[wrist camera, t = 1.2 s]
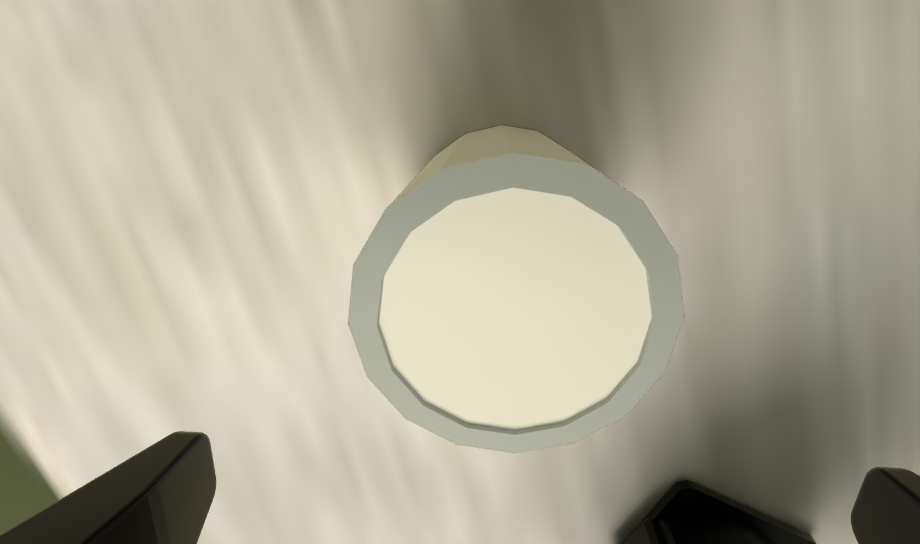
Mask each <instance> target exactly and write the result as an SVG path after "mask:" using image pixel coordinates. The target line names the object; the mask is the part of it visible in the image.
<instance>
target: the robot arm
mask: <svg viewBox="0 0 920 544" xmlns="http://www.w3.org/2000/svg"><path fill="white" fill-rule="evenodd" d="M215 490H216V475H215V469H214V463H213V457H212V451H211V445H210V441H209V438H208V436H207V435H206V434H204V433H202V432H184V431H179V432H174V433H172V434H170V435H168V436H167V437H165V438H163V439H162V440H160V441H158V442H157V443H155V444H153V445H152V446H150V447H148V448H146V449H145V450H143V451H141V452H140V453H138V454H136V455H135V456H133V457H131V458H130V459H128V460H126V461H125V462H123V463H121V464H119V465H118V466H116V467H114V468H113V469H111V470H109V471H108V472H106V473H104V474H103V475H101V476H99V477H97V478H96V479H94V480H92V481H91V482H89V483H87V484H86V485H84V486H82V487H81V488H79V489H77V490H76V491H74V492H72V493H70V494H69V495H67V496H65V497H64V498H62V499H60V500H59V501H57V502H55V503H54V504H52V505H50V506H48V507H47V508H45V509H43V510H42V511H40V512H38V513H37V514H35V515H33V516H32V517H30V518H29V519H27V520H25V521H23V522H22V523H20V524H18V525H16V526H15V527H13V528H11V529H10V530H8V531H6V532H5V533H3V534H1V535H0V544H197V542H198V539H199V536H200V533H201V531H202V528H203V525H204V523H205V520H206V517H207V514H208V512H209V509H210V506H211V503H212V501H213V498H214V495H215ZM686 493H689V494H688V495H684V494H686ZM682 495H684V496H682ZM851 525H852V529H853V532H854V535H855V537H856V539H857V541H858V544H920V476H919V475H917V474H915V473H913V472H911V471H909V470H906V469H902V468H885V467H876V468H872V469H871V470H870V471H869V472H868V473H867V474H866V476H865V479H864V481H863V484H862V486H861V489H860V491H859V494H858V496H857V499H856V502H855V504H854V507H853V509H852V513H851ZM623 544H816V542H815V540H814V539H813V537H812V536H810V535H809V534H807V533H805V532H803V531H800V530H798V529H796V528H794V527H792V526H789V525H787V524H785V523H783V522H781V521H778V520H776V519H774V518H772V517H769V516H767V515H765V514H763V513H761V512H758V511H756V510H754V509H752V508H750V507H747V506H745V505H743V504H741V503H739V502H736V501H734V500H732V499H730V498H727V497H725V496H723V495H721V494H719V493H716V492H714V491H712V490H710V489H708V488H705V487H703V486H701V485H699V484H697V483H694V482H692V481H688V480H683V481H679V482H677V483H676V484H674V485H673V486H672V487H671V488H670V490H669V491H668V492H667V493H666V494H665V495H664V496H663V498H662V499H661V500H660V501H659V502H658V503H657V504H656V506H655V507H654V508H653V509H652V510H651V511H650V513H649V514H648V515H647V516H646V517H645V518H644V519H643V521H642V522H641V523H640V524H639V525H638V526H637V527H636V529H635V530H634V531H633V532H632V533H631V534H630V536H629V537H628V538H627V539H626V540H625V541H624V542H623Z"/></svg>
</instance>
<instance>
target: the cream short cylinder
mask: <svg viewBox="0 0 920 544" xmlns="http://www.w3.org/2000/svg"><path fill="white" fill-rule="evenodd" d="M683 318H684V308H683V299H682V289H681V280H680V271H679V261H678V255H677V254H676V252H675V250H674V249H673V247H672V246H671V244H670V242H669V241H668V239H667V238H666V236H665V235H664V233H663V231H662V230H661V228H660V227H659V225H658V224H657V222H656V220H655V219H654V217H653V216H652V214H651V212H650V211H649V209H648V208H647V206H646V205H645V203H644V201H642V200H641V199H639V198H638V197H636V196H635V195H633V194H632V193H630V192H629V191H627V190H626V189H624V188H623V187H621V186H620V185H619V184H617V183H616V182H614V181H613V180H611V179H610V178H608V177H607V176H605V175H604V174H602V173H601V172H599V171H598V170H596V169H595V168H593V167H592V166H590V165H589V164H587V163H586V162H584V161H583V160H581V159H580V158H579V157H577V156H576V155H574V154H573V153H571V152H570V151H568V150H567V149H565V148H563V147H562V146H560V145H559V144H557V143H556V142H554V141H552V140H551V139H549V138H548V137H546V136H545V135H543V134H542V133H540V132H538V131H534V130H528V129H522V128H516V127H510V126H503V125H499V126H495V127H491V128H487V129H483V130H479V131H475V132H470V133H466V134H464V135H462V136H461V137H460V138H458V139H457V140H456V141H454V142H453V143H452V144H450V145H449V146H448V147H446V148H445V149H443V150H442V151H441V152H439V153H438V154H437V155H435V156H434V157H433V158H432V160H431V161H430V162H429V163H428V164H427V165H426V166H425V167H424V168H423V169H422V170H421V171H420V173H419V174H418V175H417V176H416V177H415V178H414V179H413V180H412V181H411V182H410V183H409V184H408V186H407V187H406V188H405V189H404V190H403V191H402V192H401V193H400V194H399V195H398V196H397V197H396V199H395V200H394V201H393V202H392V203H391V204H390V205H389V206H388V207H387V208H386V209H385V211H384V212H383V214H382V216H381V218H380V219H379V221H378V223H377V225H376V226H375V228H374V230H373V231H372V233H371V235H370V237H369V238H368V240H367V242H366V244H365V245H364V247H363V249H362V251H361V252H360V254H359V256H358V257H357V259H356V261H355V263H354V264H353V272H352V283H351V295H350V307H349V318H348V325H349V328H350V331H351V333H352V336H353V339H354V342H355V345H356V347H357V350H358V353H359V356H360V358H361V361H362V364H363V367H364V369H365V372H366V375H367V377H368V378H369V380H370V381H371V382H372V383H373V384H374V385H375V386H376V387H377V388H378V389H379V390H380V391H381V393H382V394H383V395H384V396H385V397H386V398H387V399H388V400H389V401H390V402H391V403H392V404H393V406H394V407H395V408H396V409H397V410H398V411H399V412H400V413H401V414H402V415H403V416H404V417H405V419H407V420H409V421H411V422H413V423H415V424H417V425H419V426H421V427H423V428H425V429H427V430H429V431H431V432H433V433H435V434H437V435H439V436H441V437H443V438H445V439H447V440H449V441H451V442H453V443H454V444H456V445H462V446H469V447H476V448H483V449H490V450H497V451H504V452H510V453H519V452H525V451H531V450H537V449H542V448H548V447H554V446H560V445H566V444H572V443H575V442H577V441H579V440H580V439H582V438H584V437H586V436H588V435H590V434H592V433H593V432H595V431H597V430H599V429H601V428H603V427H605V426H607V425H608V424H610V423H612V422H614V421H616V420H618V419H620V418H622V417H623V416H625V415H626V414H627V413H628V412H629V411H630V410H631V409H632V408H633V407H634V406H635V404H636V403H637V402H638V401H639V400H640V399H641V398H642V397H643V395H644V394H645V393H646V392H647V391H648V390H649V389H650V388H651V387H652V385H653V384H654V383H655V382H656V381H657V380H658V379H659V378H660V376H661V375H662V374H663V373H664V372H665V370H666V367H667V364H668V361H669V359H670V356H671V353H672V350H673V347H674V344H675V341H676V338H677V335H678V333H679V330H680V327H681V324H682V321H683Z"/></svg>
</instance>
